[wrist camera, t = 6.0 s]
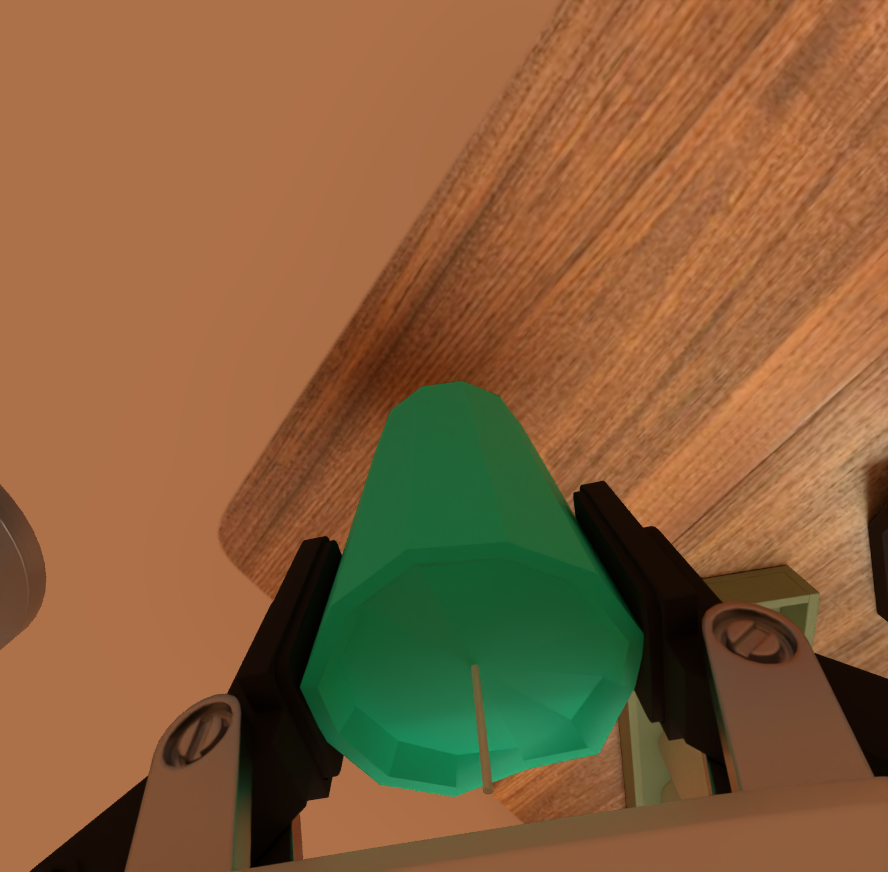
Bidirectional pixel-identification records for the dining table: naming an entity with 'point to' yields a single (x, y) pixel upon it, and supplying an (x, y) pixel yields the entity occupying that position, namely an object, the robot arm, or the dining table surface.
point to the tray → (641, 736)
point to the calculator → (880, 559)
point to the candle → (467, 609)
